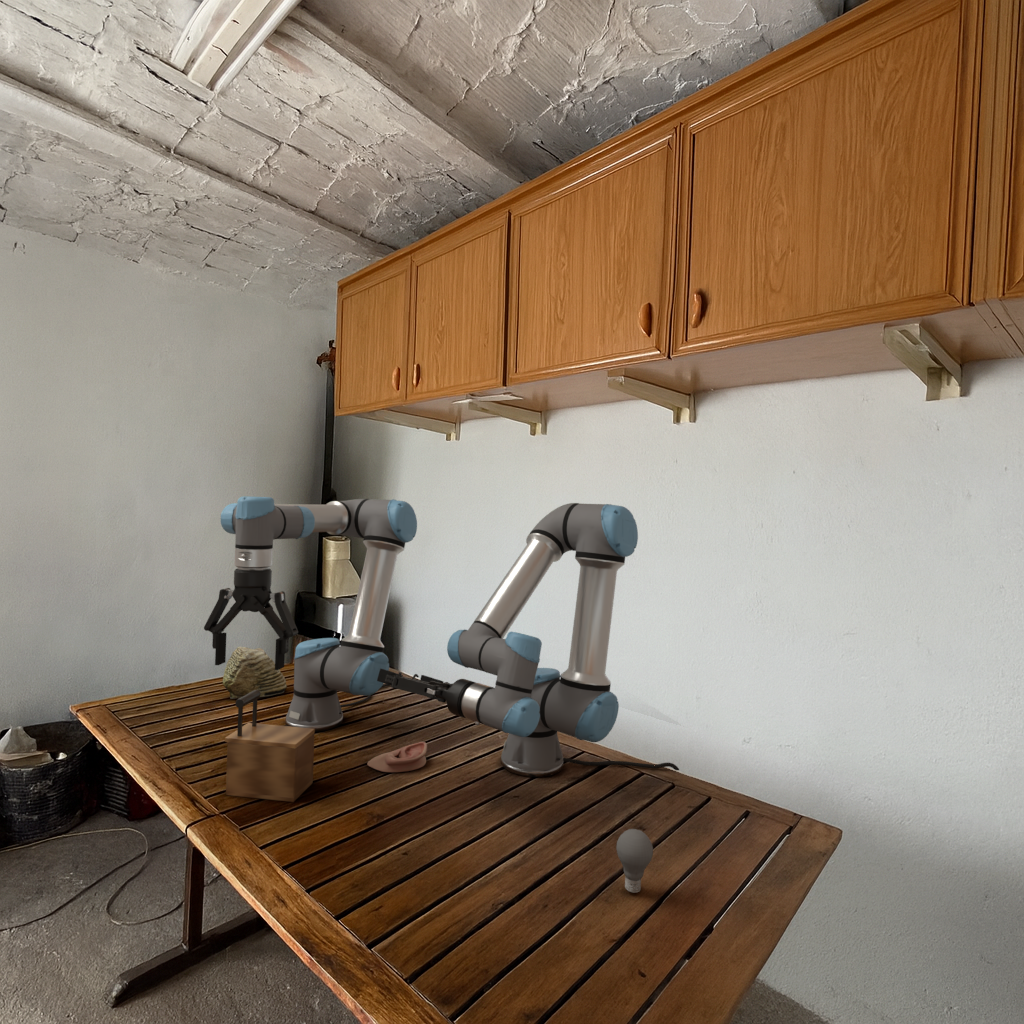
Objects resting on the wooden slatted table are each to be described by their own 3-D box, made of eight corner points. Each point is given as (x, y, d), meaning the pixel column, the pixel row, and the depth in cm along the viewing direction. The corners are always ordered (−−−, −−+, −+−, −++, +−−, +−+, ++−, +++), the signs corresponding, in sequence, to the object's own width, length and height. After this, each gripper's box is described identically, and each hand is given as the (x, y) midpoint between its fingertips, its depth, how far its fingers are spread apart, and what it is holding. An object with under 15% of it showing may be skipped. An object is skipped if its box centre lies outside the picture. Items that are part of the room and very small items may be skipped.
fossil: (218, 695, 195) (220, 647, 195) (278, 685, 208) (279, 640, 207) (228, 703, 189) (230, 653, 188) (289, 692, 201) (290, 645, 201)
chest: (225, 794, 133) (227, 742, 133) (249, 776, 142) (250, 727, 142) (293, 802, 131) (295, 748, 131) (312, 782, 140) (314, 732, 140)
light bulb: (610, 879, 108) (613, 822, 108) (644, 879, 109) (647, 822, 109) (619, 902, 102) (622, 840, 102) (655, 901, 103) (658, 840, 103)
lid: (224, 742, 133) (226, 699, 132) (248, 726, 142) (249, 687, 142) (295, 748, 131) (297, 706, 131) (314, 732, 140) (316, 692, 140)
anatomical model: (361, 752, 147) (381, 734, 159) (361, 769, 148) (381, 750, 159) (415, 759, 145) (432, 741, 156) (415, 776, 145) (431, 757, 156)
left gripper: (188, 566, 134) (185, 666, 134) (300, 573, 131) (296, 675, 131) (209, 563, 142) (206, 657, 142) (316, 569, 138) (312, 665, 139)
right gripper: (427, 715, 122) (355, 689, 135) (501, 721, 141) (432, 698, 154) (437, 676, 123) (365, 654, 136) (509, 687, 143) (440, 667, 155)
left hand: (249, 666), depth 137 cm, fingers open, 13 cm apart
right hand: (401, 677), depth 145 cm, fingers open, 13 cm apart
